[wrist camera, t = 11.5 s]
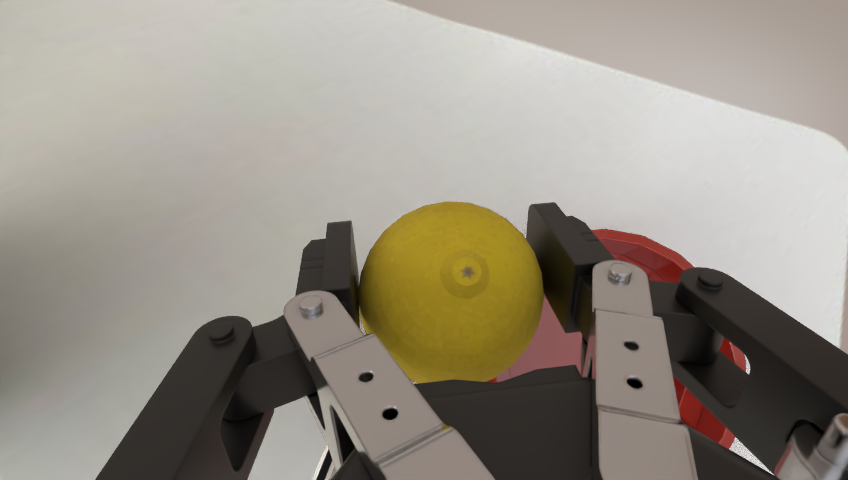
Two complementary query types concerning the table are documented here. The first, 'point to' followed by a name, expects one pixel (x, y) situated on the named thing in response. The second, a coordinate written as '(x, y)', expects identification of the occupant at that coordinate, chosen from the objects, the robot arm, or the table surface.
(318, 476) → the pen
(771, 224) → the table surface
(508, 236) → the lemon
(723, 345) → the bowl
